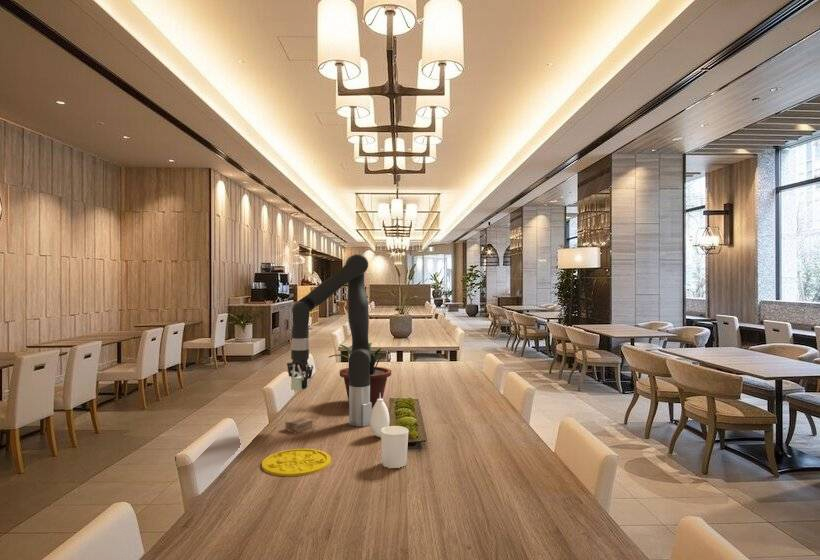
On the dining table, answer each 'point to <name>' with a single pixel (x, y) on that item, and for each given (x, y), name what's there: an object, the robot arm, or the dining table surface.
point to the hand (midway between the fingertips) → (299, 387)
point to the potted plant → (376, 376)
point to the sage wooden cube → (297, 383)
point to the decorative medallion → (296, 462)
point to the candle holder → (394, 446)
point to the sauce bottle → (379, 417)
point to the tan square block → (299, 425)
